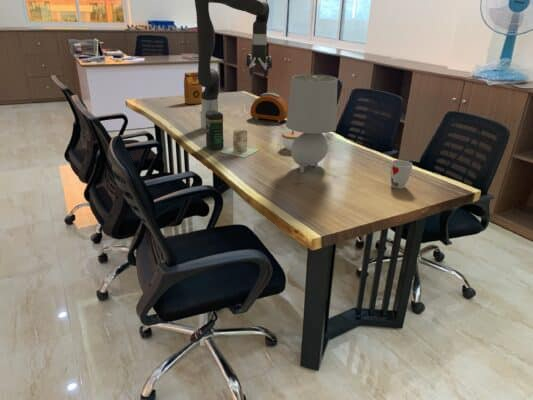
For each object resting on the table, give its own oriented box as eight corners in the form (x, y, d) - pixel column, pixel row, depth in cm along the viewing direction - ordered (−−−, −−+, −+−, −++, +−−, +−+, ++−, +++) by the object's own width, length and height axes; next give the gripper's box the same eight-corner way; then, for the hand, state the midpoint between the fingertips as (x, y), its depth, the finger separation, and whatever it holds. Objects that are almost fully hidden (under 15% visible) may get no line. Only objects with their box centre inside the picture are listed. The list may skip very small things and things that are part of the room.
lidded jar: (285, 152, 207) (286, 134, 203) (278, 146, 216) (279, 128, 212) (305, 151, 209) (306, 133, 206) (298, 145, 219) (299, 127, 215)
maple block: (233, 151, 206) (233, 131, 201) (238, 148, 210) (238, 129, 205) (241, 153, 203) (241, 133, 199) (247, 150, 207) (247, 130, 203)
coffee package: (204, 104, 302) (203, 72, 293) (188, 105, 296) (186, 73, 287) (199, 101, 310) (198, 70, 300) (183, 102, 304) (181, 71, 295)
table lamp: (318, 181, 174) (326, 83, 157) (273, 170, 184) (277, 77, 167) (339, 166, 191) (349, 76, 175) (298, 156, 202) (303, 71, 185)
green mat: (220, 152, 204) (220, 151, 204) (236, 145, 215) (236, 144, 215) (243, 157, 198) (243, 157, 198) (259, 150, 209) (259, 149, 209)
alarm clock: (249, 119, 266) (250, 92, 259) (255, 116, 274) (255, 90, 267) (284, 123, 259) (285, 96, 252) (289, 120, 266) (290, 93, 259)
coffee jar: (225, 149, 209) (225, 112, 201) (210, 151, 206) (209, 113, 198) (219, 143, 217) (218, 108, 209) (204, 145, 214) (203, 109, 206)
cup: (385, 182, 175) (388, 159, 171) (403, 182, 176) (408, 159, 171) (392, 190, 168) (396, 166, 163) (411, 190, 168) (416, 166, 164)
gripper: (243, 42, 213) (243, 75, 220) (267, 44, 206) (266, 78, 213) (251, 42, 219) (251, 74, 226) (275, 43, 212) (274, 76, 219)
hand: (258, 76), depth 219 cm, fingers open, 8 cm apart
